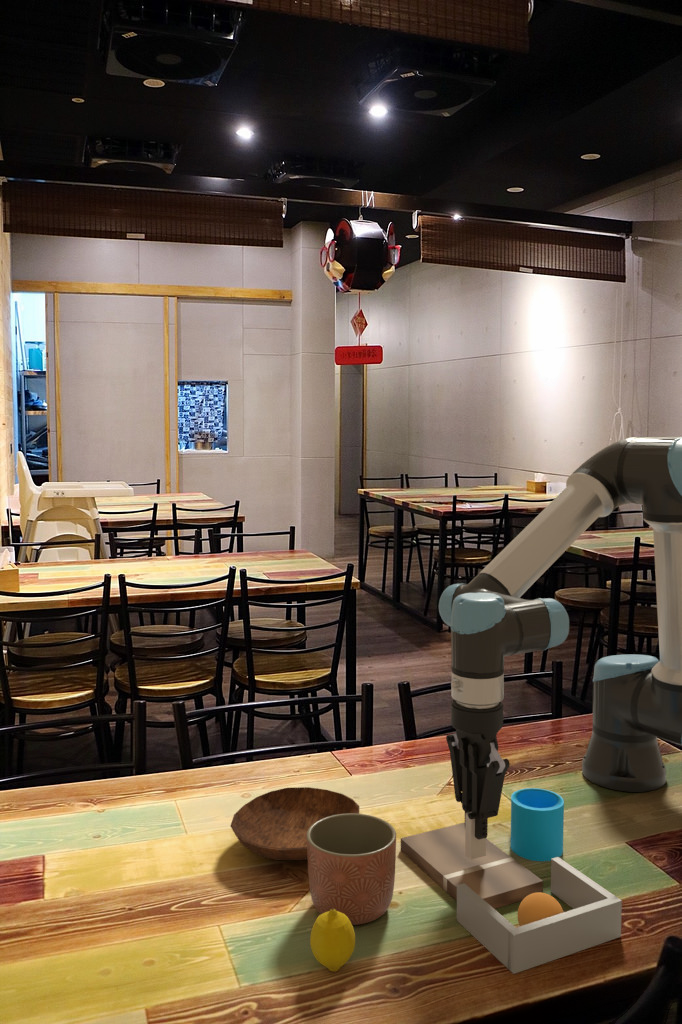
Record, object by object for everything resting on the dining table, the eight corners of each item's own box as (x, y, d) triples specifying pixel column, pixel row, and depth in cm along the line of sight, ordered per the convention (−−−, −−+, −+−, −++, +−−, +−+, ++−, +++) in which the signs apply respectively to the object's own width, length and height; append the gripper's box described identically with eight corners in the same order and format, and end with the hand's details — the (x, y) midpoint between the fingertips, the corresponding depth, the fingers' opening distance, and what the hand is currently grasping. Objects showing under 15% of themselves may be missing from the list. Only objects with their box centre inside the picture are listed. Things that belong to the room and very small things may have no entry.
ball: (544, 878, 114) (572, 899, 109) (548, 920, 115) (576, 943, 109) (506, 892, 112) (533, 914, 106) (510, 934, 112) (537, 959, 107)
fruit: (340, 950, 109) (339, 890, 108) (364, 973, 104) (363, 911, 103) (302, 965, 106) (301, 904, 105) (325, 989, 101) (325, 926, 100)
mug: (573, 857, 132) (574, 806, 131) (525, 864, 130) (526, 813, 129) (535, 822, 143) (536, 776, 142) (491, 829, 141) (491, 781, 140)
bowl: (379, 827, 142) (379, 798, 142) (321, 893, 122) (321, 859, 122) (276, 806, 150) (276, 778, 150) (206, 864, 131) (205, 833, 130)
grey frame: (557, 889, 123) (558, 856, 122) (620, 936, 111) (621, 900, 111) (456, 920, 115) (456, 885, 115) (513, 973, 104) (514, 935, 103)
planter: (408, 895, 121) (408, 822, 120) (376, 943, 110) (376, 863, 109) (330, 877, 127) (329, 806, 125) (291, 921, 115) (290, 844, 114)
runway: (464, 834, 139) (464, 822, 139) (542, 894, 121) (543, 880, 121) (400, 850, 134) (400, 838, 134) (472, 915, 116) (472, 901, 116)
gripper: (431, 691, 128) (430, 841, 130) (481, 718, 116) (479, 882, 118) (473, 684, 131) (471, 831, 133) (526, 709, 119) (523, 870, 121)
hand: (475, 855), depth 126 cm, fingers closed
